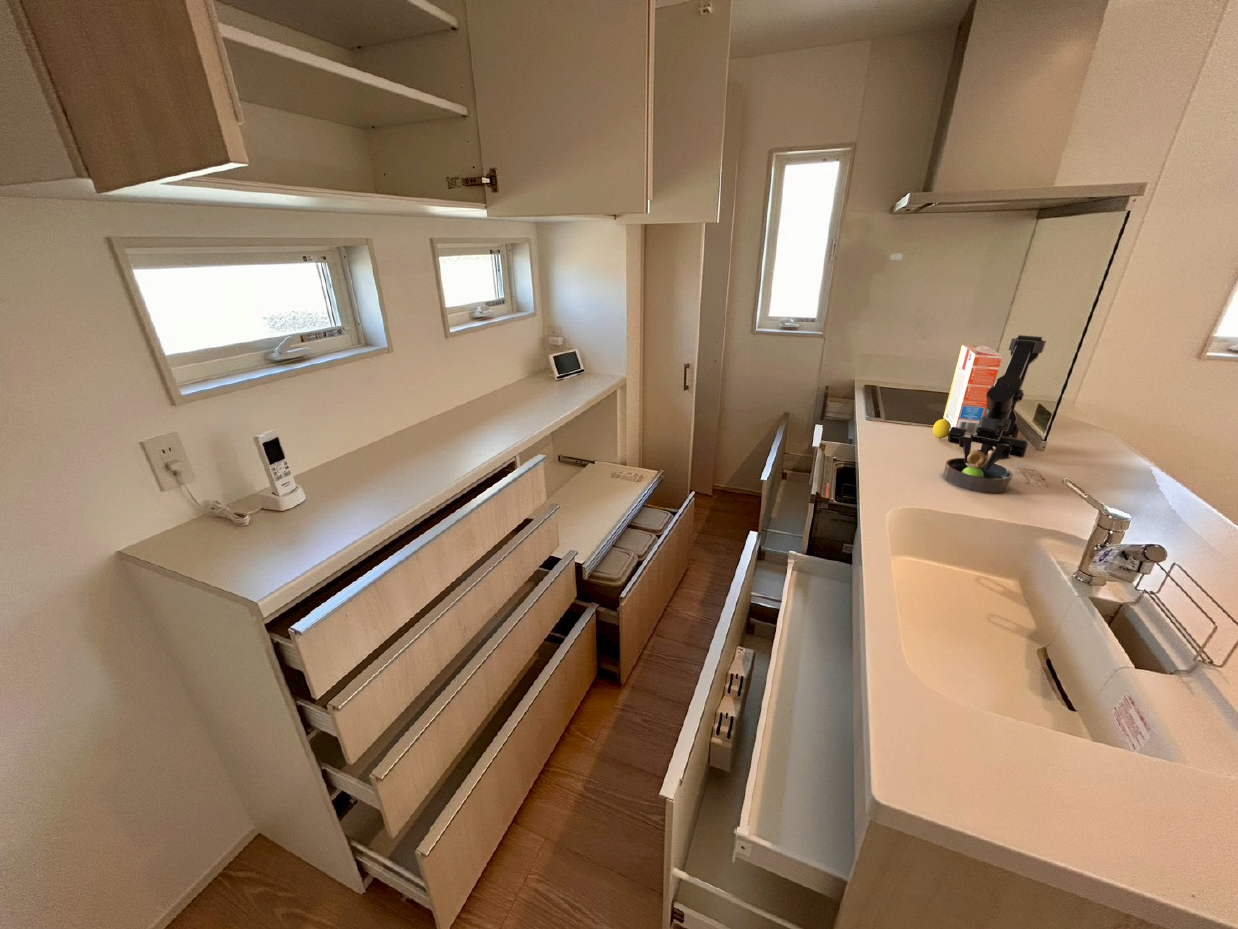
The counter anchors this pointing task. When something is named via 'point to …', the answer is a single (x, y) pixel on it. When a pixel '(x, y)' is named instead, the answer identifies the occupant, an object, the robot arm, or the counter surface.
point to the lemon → (941, 428)
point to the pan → (992, 481)
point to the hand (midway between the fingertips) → (975, 466)
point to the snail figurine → (977, 462)
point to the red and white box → (971, 386)
